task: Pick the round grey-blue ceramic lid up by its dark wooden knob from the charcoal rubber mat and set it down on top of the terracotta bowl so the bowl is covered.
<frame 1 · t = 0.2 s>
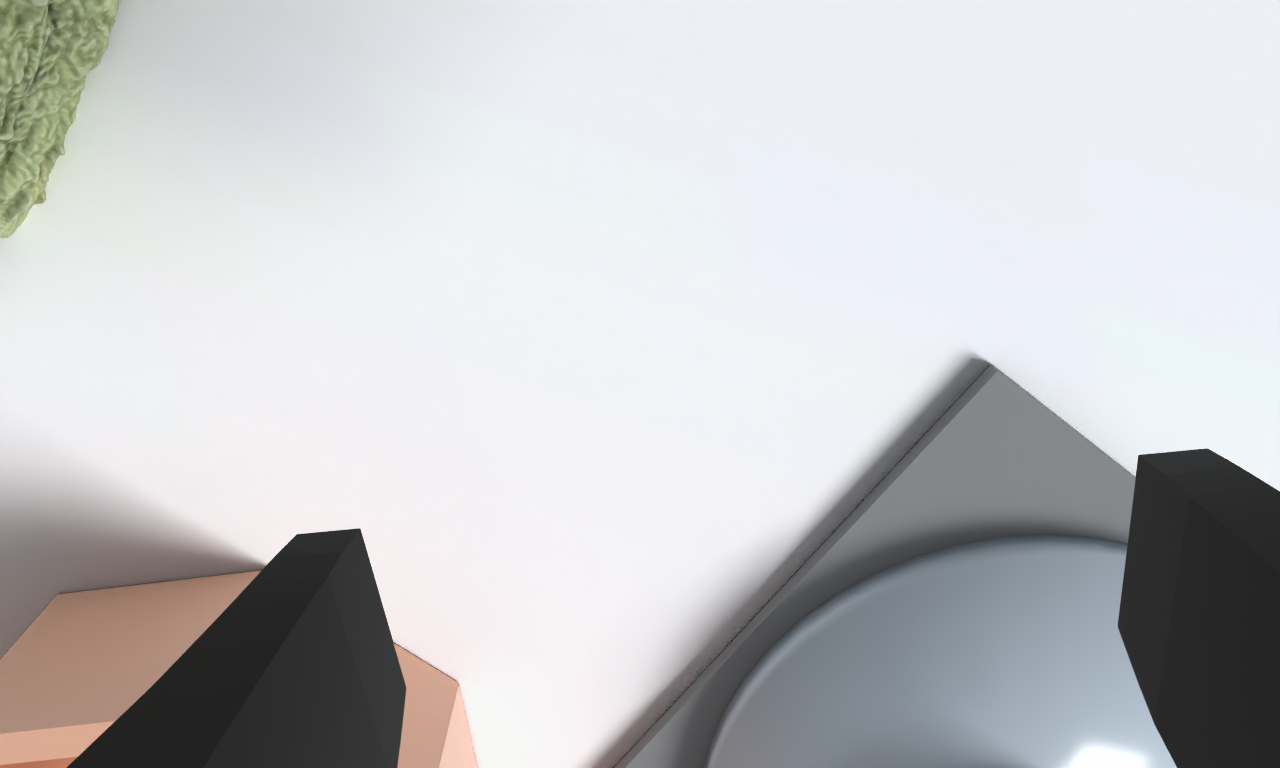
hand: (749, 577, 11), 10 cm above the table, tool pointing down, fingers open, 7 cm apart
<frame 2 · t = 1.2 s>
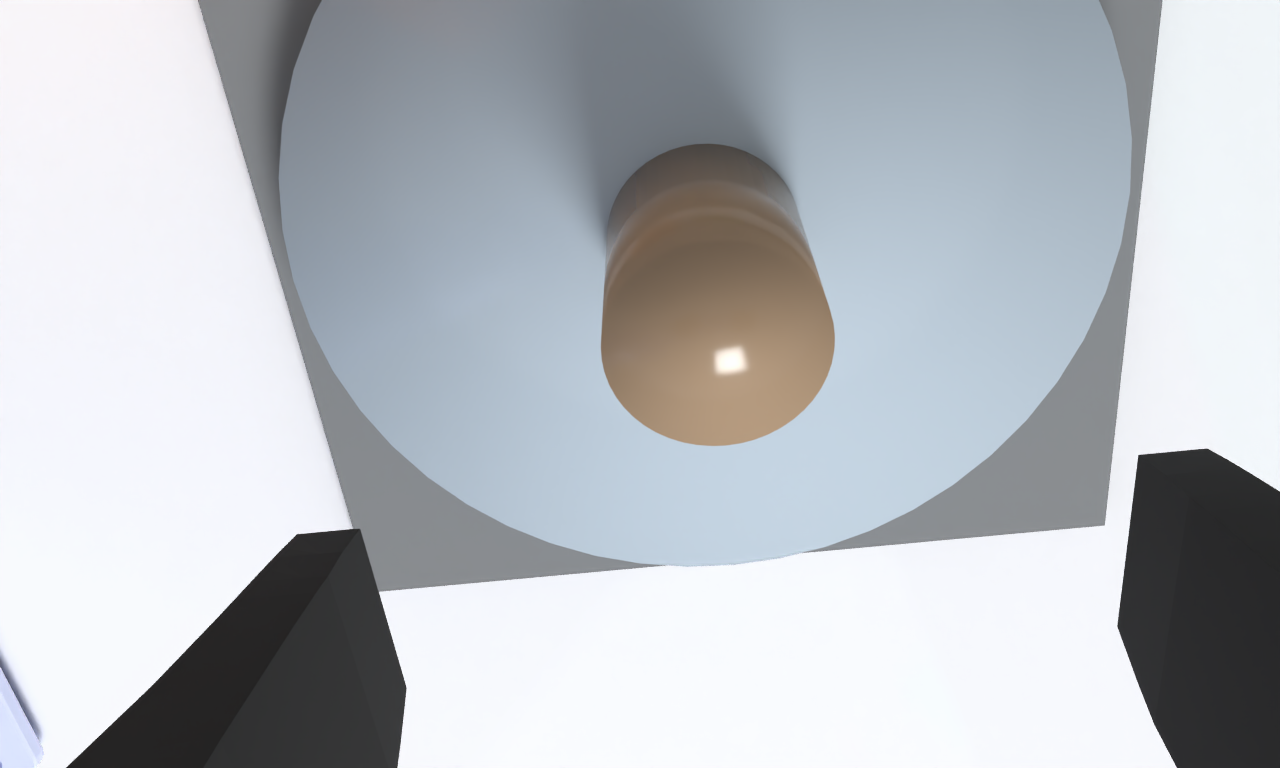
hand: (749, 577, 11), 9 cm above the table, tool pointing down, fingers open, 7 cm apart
lid: (701, 217, 19), resting on mat
mat: (699, 208, 19), on the table
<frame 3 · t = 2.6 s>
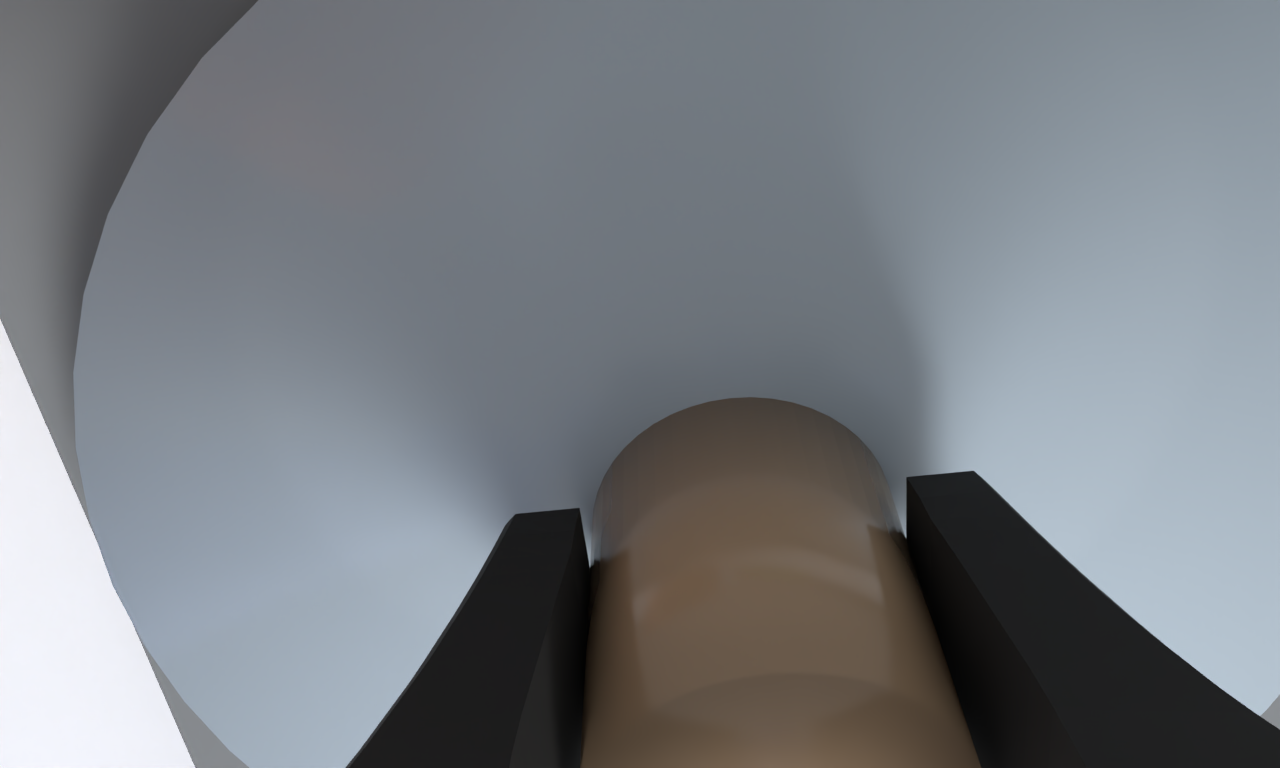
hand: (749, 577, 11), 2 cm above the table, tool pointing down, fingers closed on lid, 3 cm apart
lid: (735, 479, 12), resting on mat, touching gripper
mat: (733, 458, 13), on the table
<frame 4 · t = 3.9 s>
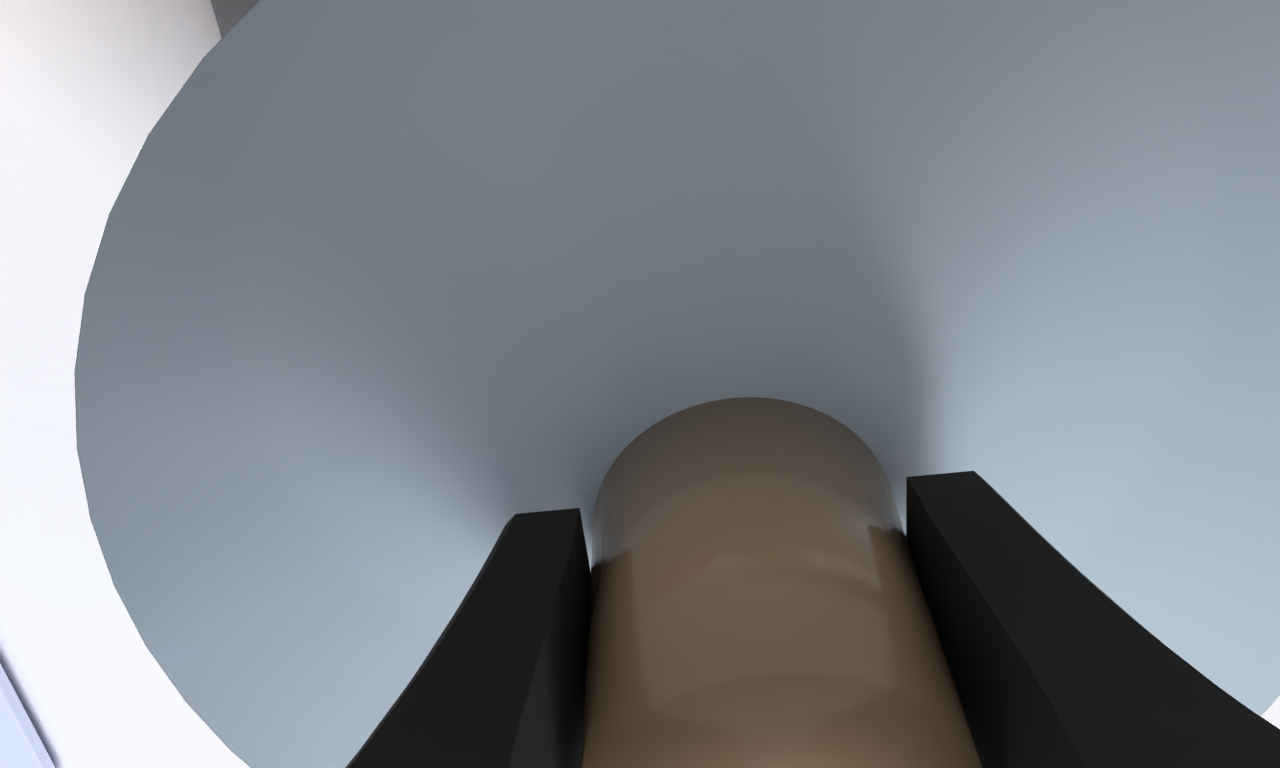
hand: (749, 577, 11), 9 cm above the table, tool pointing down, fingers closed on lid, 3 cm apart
lid: (736, 479, 12), point 7 cm above the table, touching gripper
mat: (727, 241, 19), on the table
when the fingers open (8 cm above the table, at t = 5.5 s): lid drops 1 cm, resting on bowl.
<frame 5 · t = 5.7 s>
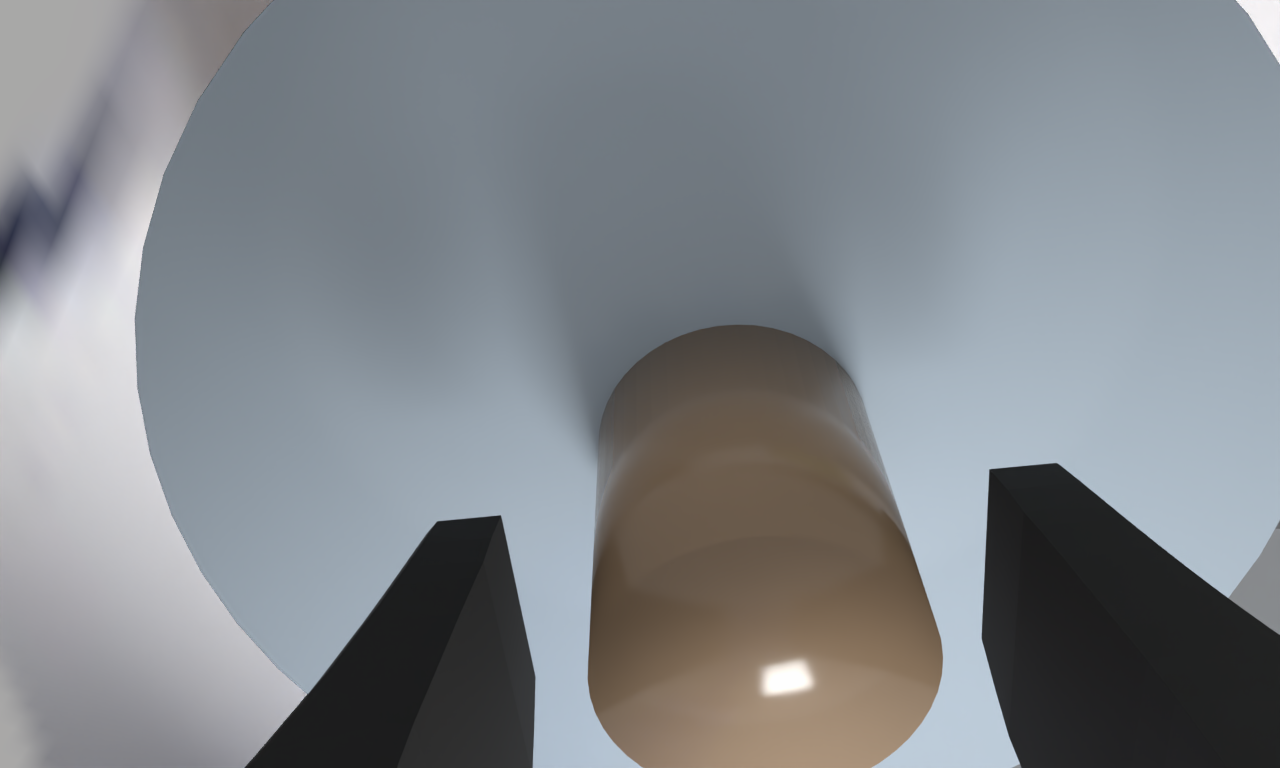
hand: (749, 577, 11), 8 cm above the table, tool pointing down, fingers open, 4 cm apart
lid: (728, 407, 14), point 4 cm above the table, touching bowl
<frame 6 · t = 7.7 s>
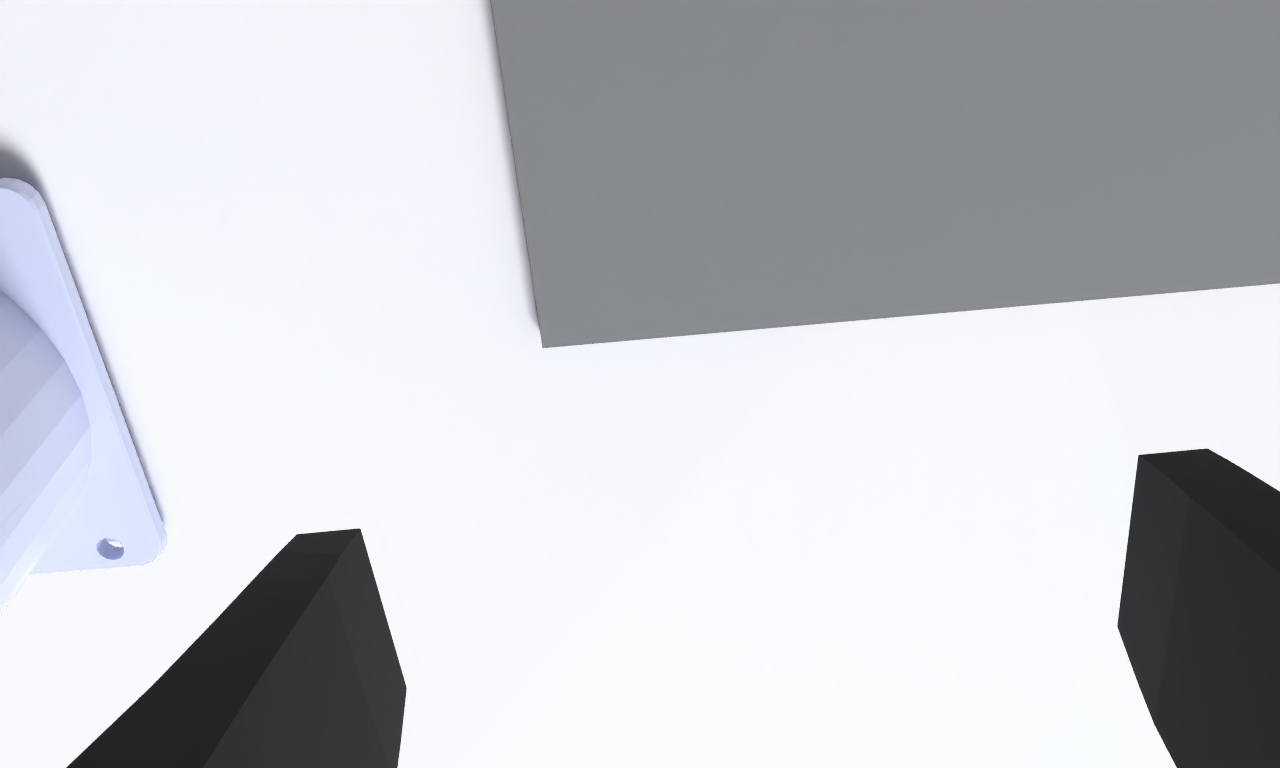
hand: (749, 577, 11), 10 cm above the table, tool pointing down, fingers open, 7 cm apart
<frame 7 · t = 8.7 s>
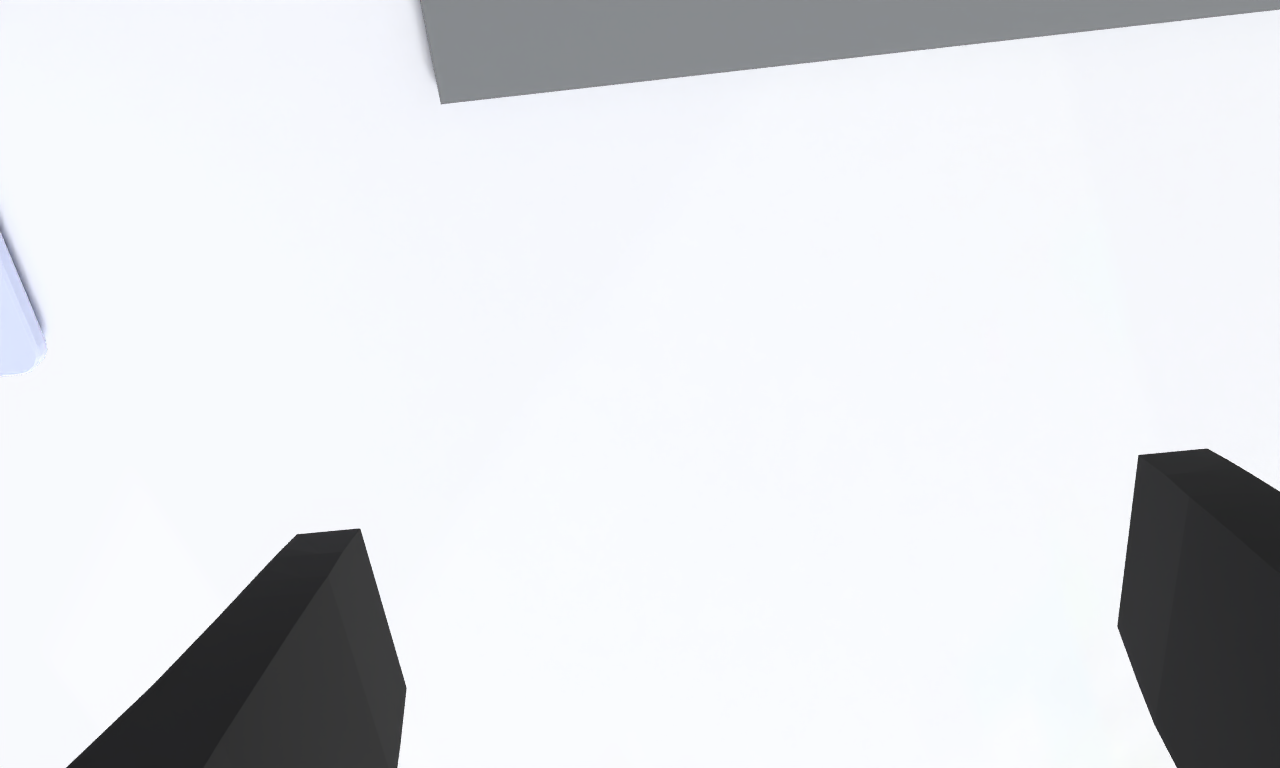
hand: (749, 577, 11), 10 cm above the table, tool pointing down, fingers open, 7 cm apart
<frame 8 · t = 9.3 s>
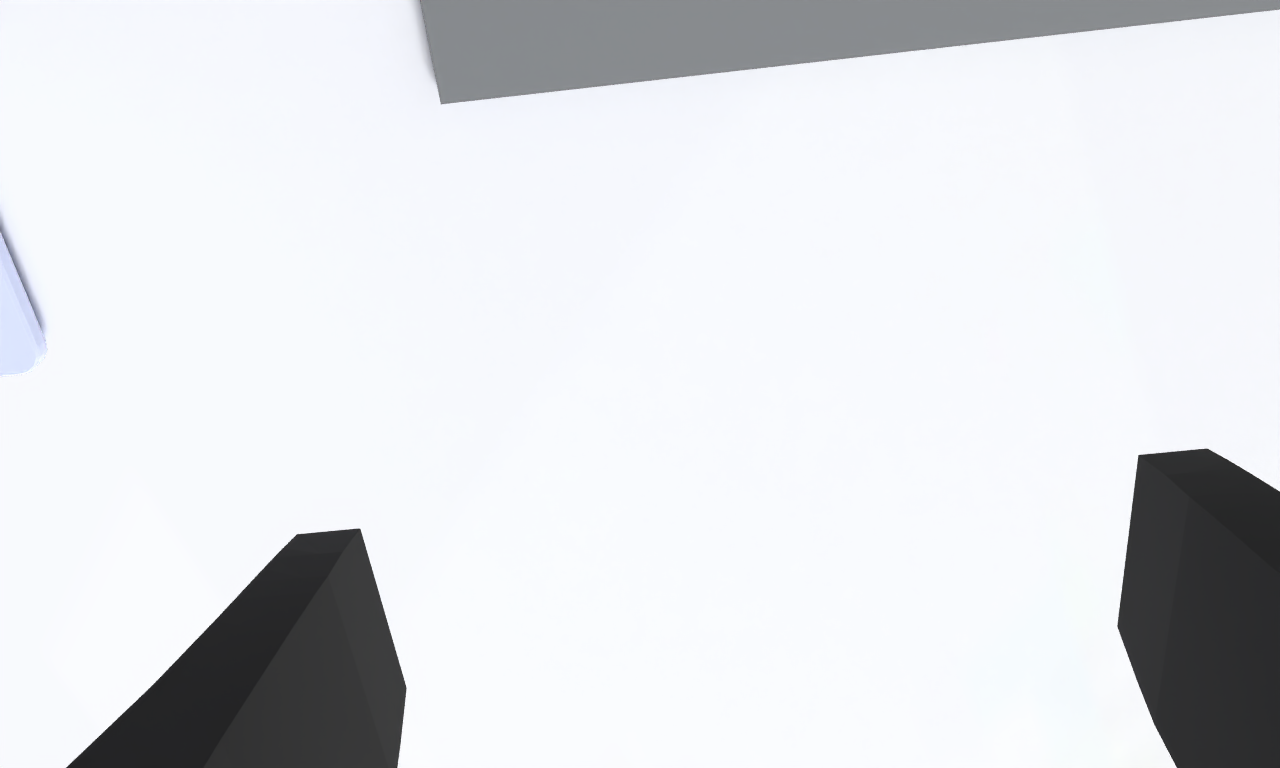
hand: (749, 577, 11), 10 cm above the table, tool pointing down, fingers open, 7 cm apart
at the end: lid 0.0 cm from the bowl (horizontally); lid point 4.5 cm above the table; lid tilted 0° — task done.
